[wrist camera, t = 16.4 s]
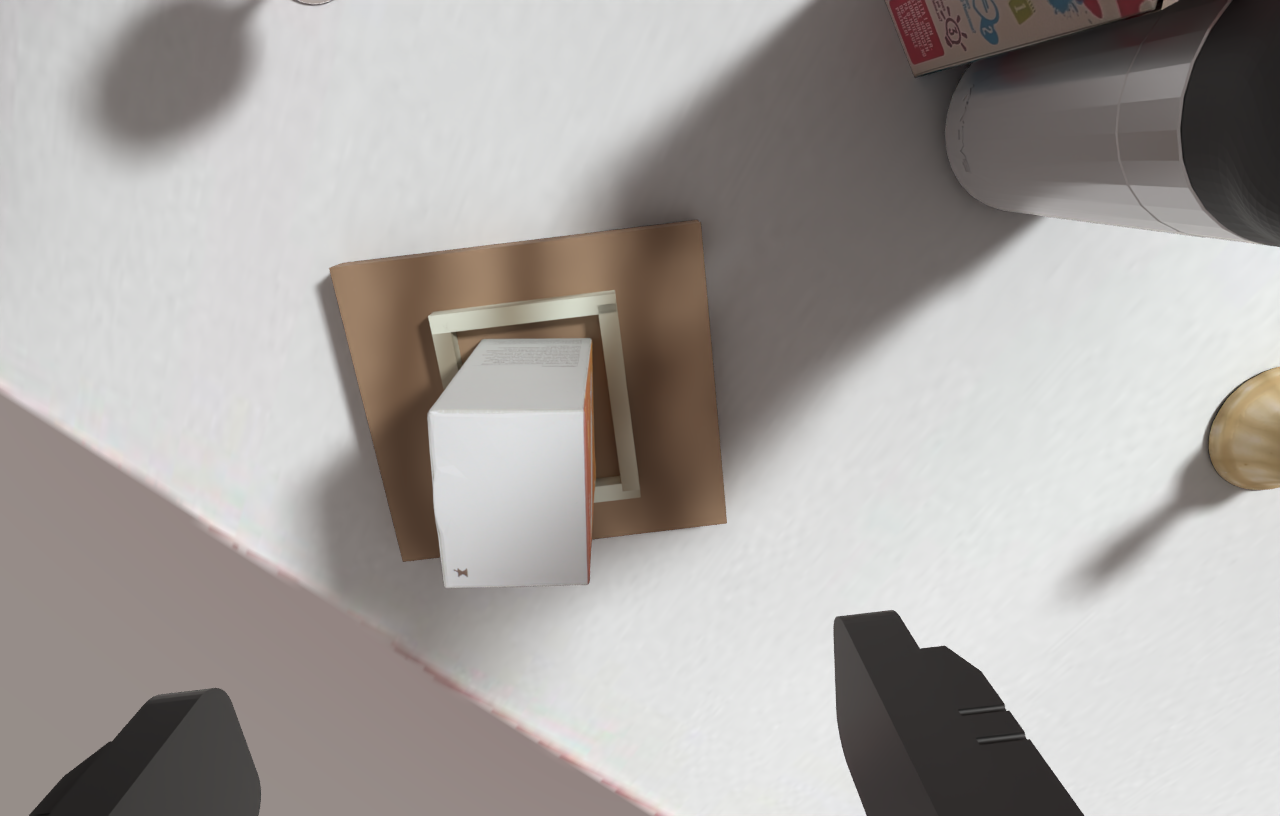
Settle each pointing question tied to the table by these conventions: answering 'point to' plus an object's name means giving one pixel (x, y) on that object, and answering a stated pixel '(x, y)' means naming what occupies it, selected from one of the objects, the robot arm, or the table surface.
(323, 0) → the wineglass
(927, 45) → the juice carton
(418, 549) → the base board
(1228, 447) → the hand bell
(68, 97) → the table surface
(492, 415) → the small box
